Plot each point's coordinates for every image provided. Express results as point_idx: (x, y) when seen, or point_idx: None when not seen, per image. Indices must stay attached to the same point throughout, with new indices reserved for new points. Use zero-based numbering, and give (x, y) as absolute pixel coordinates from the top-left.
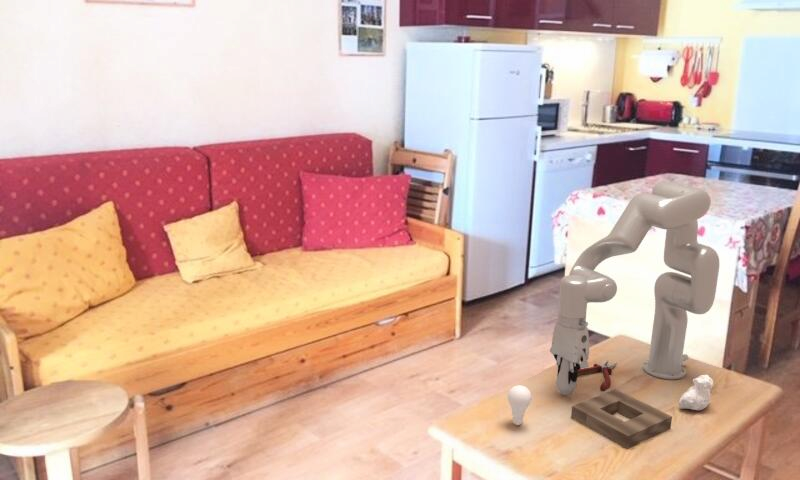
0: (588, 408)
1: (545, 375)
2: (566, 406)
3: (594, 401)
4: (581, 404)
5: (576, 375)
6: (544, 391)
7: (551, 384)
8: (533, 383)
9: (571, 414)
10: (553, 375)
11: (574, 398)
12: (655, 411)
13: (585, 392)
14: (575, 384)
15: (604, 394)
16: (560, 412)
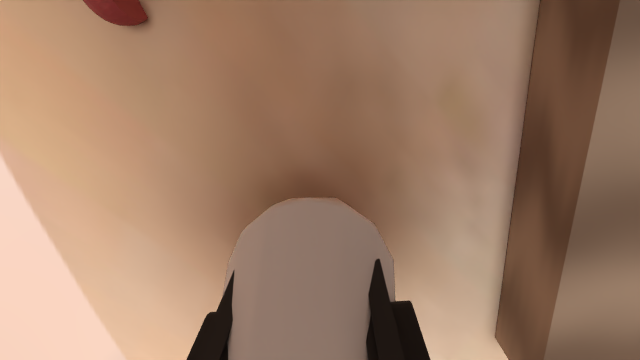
0: (629, 356)
1: (14, 136)
2: (404, 287)
3: (611, 267)
4: (566, 357)
5: (424, 356)
6: (215, 277)
7: (149, 189)
8: (108, 269)
9: (504, 350)
10: (22, 83)
11: (360, 190)
12: None
13: (334, 60)
14: (391, 270)
15: (613, 111)
16: (430, 344)
